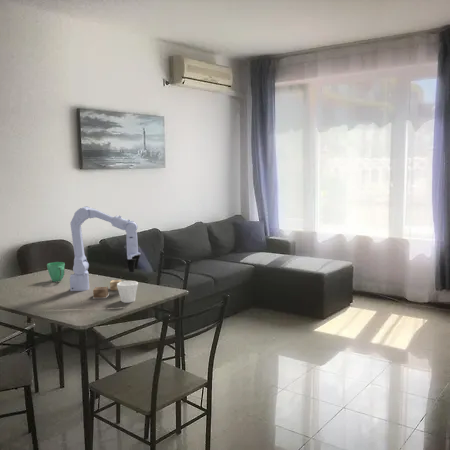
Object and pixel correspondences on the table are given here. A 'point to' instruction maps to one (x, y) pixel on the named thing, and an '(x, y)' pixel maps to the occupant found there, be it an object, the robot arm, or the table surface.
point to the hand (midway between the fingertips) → (133, 270)
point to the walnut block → (100, 292)
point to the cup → (127, 290)
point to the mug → (56, 270)
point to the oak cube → (114, 284)
